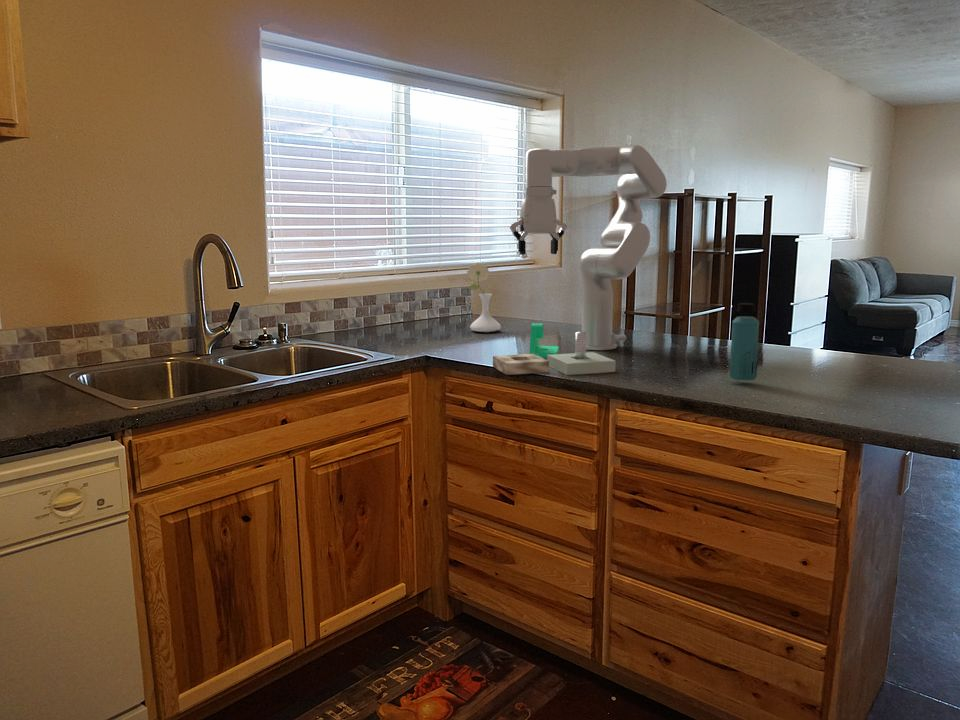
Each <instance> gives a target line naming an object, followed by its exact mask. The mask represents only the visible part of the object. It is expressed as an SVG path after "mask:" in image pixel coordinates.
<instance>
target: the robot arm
mask: <svg viewBox="0 0 960 720" xmlns="http://www.w3.org/2000/svg"><path fill="white" fill-rule="evenodd" d="M652 156H653V155H651V154H650V153H649V152H648V150H647V149H646V148H644V147H643V146H641V145H639V144H638V145H637V144H635V145H634V144H633V145H622V146H606V147H605V146H604V147H602V146H593V147H582V148H578V149H577V148H576V149H571V150H570V149H566V148H565V149H552V150H551V149H548V148H532V149H531V148H530V149H528V150H527V151H526V153H525V198H522V201H521V207H520V213H519V215H520V216H519V219H517V220H516V221H514V222H512V223H511V224H509V225H508V226H509V229H510V231H511V233H512V235H513V236H514V238H516V241H517V247H518V248H517V250H518V252H519V255H521V256H524V255H526V249H527V248H526V247H527V245H526V240H525V239H526V238H527V236H528V235H529V234H530V235H533V234H534V235H535V234H536V235H540V234H541V235H543V234H545V235H546V234H548V235H549V236H550V237H551V239H550V254H551V255H557V254H558V251H559V240H560V239H561V238H562V236H563V235H564V234H565V231H566V230H567V228H568V225H567V223H565V222H562V221H561V220H559V219H557V209H556V208H557V207H556V203H555V199H554V198H553V196H554V195H557V189H554V187H553V178H556V177H557V178H558V177H559V178H560V177H578V178H581V177H584V178H585V177H601V176H602V177H605V176H620V175H621V176H620V177H619V178H618V180H617V183H616V193H617V194H616V195H617V201H618V202H617V203H618V204H617V205H618V207H617V210H616V212H615V214H614V215H613V216H612V218H611V219H610V221H609V222H608V224H607V225H606V227H605V228H604V230H603V232H602V233H601V236H600V239H599V241H600V245H601V246H596V247H595V246H593V247H590V248H588V249H586V250H584V251H583V252H582V253H581V255H580V258H579V268H580V274H581V280H582V281H581V283H582V298H581V299H582V301H581V302H582V305H581V307H582V309H581V311H582V312H581V332H587V343H586V351H609V350H614V349H615V350H616V349H617V346H618V345H617V342H618V341H619V342H623V341H626V340H627V336H626V334H616V333H614V332H613V316H614V315H613V312H614V310H613V309H614V307H613V306H614V289H613V285H612V283H611V281H610V280H624V279H626V278H628V277H629V276H630V275H631V274H632V273H633V271H634V270H635V269H636V267H637V265H638V264H639V263H640V261H641V260H642V258H643V256H645V253H646V252H647V250H648V247H649V245H650V241H651V231H650V229H649V228H648V226H647V225H646V224H644V223H643V222H642V220H643V211H642V208H641V205H640V201H639V200H640V199H643V200H645V199H657V198H660V197H662V195H664V194H665V192H666V190H667V185H668V184H667V183H668V182H667V179H666V176H665V173H664V172H663V171H662V169H661V168H660V166H659V165H658V164H657V161H656V160H655V159H654V158H653V157H652ZM557 226H558V227H559V228H560V229H559V231H557V230H558V229H557ZM517 227H519V231H518V229H517Z"/></svg>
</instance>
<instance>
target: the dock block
mask: <svg viewBox="0 0 960 720" xmlns="http://www.w3.org/2000/svg"><path fill="white" fill-rule="evenodd" d="M546 360H548V361H549V368H552V369H554V370H556V371H558V372H560V373H562V374H564V375H566V376H571V375H586V374H601V373H616V363H617V362H616V361H617V360H614V359H612V358H609V357H608V356H604V355H602V354H600V353H597V352H594V351H592V352H587V351H586V359H579V360H576V359H575V352H573V353H570V352H569V353H558V354H553V355H547V359H546Z"/></svg>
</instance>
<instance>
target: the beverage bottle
mask: <svg viewBox="0 0 960 720" xmlns="http://www.w3.org/2000/svg"><path fill="white" fill-rule="evenodd" d="M736 311H737V312H738V313H746V314H750V313H756V304H755V303H751V302H741V303H740V302H739V303H738V304H737V309H736ZM731 323H732V325H731V327H732V328H731V340H730V341H731V342H730V343H731V344H730V357H729V361H730V362H729V373H728V374H729V377H730V379H733V380H737V381H755V380H756V378H757V376H758V362H759V361H758V355H759V339H760V338H759V329H760V328H759V326H760V321H759V320H758V319H757V318H756V317H754V316H745V315H744V316H736V317H735V318H734V319H733V320H732V322H731Z"/></svg>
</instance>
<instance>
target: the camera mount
mask: <svg viewBox="0 0 960 720" xmlns="http://www.w3.org/2000/svg"><path fill="white" fill-rule="evenodd" d="M544 327H545V326H544V323H543V322H542V323H541V322H540V323H538V322H537V323H533V322H532V323H531V327H530V328H531V329H530V343H529V353H528V354H535V355H537V356H540V357H542V358H544V359H546V360H547V355H553V354H559V353H560V352H559V350H560V346H559V345H540V342H539V341H540V339H544V332H545V331H544V330H545V329H544Z"/></svg>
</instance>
